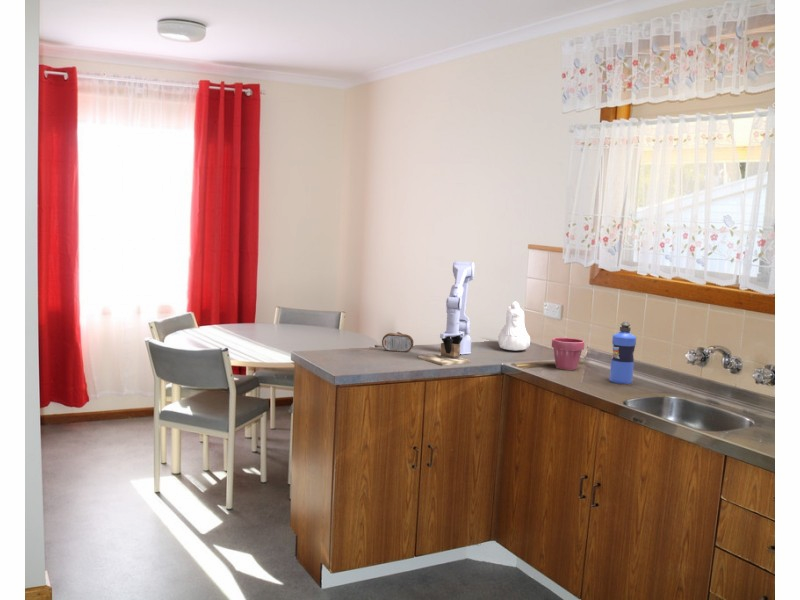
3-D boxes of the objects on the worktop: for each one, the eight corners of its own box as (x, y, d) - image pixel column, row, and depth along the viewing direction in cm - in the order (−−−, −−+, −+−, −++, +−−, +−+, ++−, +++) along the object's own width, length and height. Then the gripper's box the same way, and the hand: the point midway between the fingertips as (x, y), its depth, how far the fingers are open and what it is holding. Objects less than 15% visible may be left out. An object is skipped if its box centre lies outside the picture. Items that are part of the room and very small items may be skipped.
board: (445, 355, 336) (445, 353, 336) (470, 362, 322) (470, 360, 322) (418, 357, 327) (418, 355, 327) (442, 365, 313) (442, 363, 313)
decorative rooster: (528, 354, 348) (532, 304, 345) (496, 352, 351) (499, 301, 348) (530, 346, 372) (534, 298, 369) (500, 343, 375) (503, 296, 372)
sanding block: (446, 355, 331) (446, 342, 331) (459, 357, 326) (460, 344, 325) (440, 356, 328) (441, 343, 328) (453, 358, 323) (454, 345, 322)
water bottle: (626, 379, 302) (630, 320, 299) (636, 384, 293) (641, 323, 290) (605, 378, 301) (610, 320, 298) (615, 384, 292) (620, 323, 289)
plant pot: (554, 363, 329) (556, 335, 328) (585, 367, 323) (587, 339, 322) (546, 368, 316) (548, 340, 315) (578, 372, 311) (581, 343, 309)
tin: (413, 351, 342) (413, 334, 341) (412, 352, 339) (413, 335, 338) (381, 349, 343) (382, 332, 342) (381, 350, 340) (381, 333, 339)
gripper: (456, 320, 333) (455, 349, 334) (435, 323, 323) (434, 352, 324) (468, 322, 328) (466, 352, 329) (447, 325, 318) (445, 355, 319)
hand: (451, 352), depth 326 cm, fingers closed on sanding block, 4 cm apart
